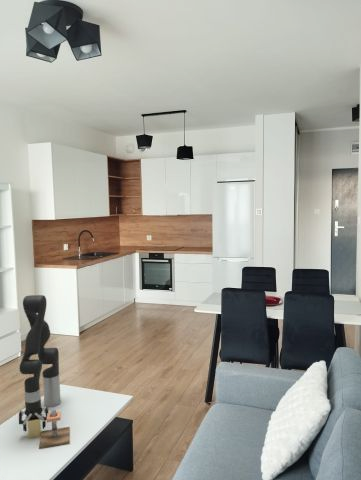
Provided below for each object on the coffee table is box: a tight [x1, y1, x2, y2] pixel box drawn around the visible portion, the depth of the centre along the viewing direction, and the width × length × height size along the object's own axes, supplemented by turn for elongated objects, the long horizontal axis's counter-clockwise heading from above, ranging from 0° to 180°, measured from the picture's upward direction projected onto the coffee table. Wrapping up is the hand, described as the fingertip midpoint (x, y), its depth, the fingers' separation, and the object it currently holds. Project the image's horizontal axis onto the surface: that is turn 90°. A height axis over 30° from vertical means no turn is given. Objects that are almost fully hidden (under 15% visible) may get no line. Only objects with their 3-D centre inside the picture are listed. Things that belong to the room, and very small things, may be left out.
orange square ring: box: [46, 410, 62, 423], centre depth 203 cm, size 6×6×2 cm
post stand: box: [38, 410, 71, 450], centre depth 203 cm, size 14×14×14 cm
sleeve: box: [27, 418, 42, 439], centre depth 207 cm, size 6×6×9 cm
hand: (34, 429), depth 207 cm, fingers open, 8 cm apart
